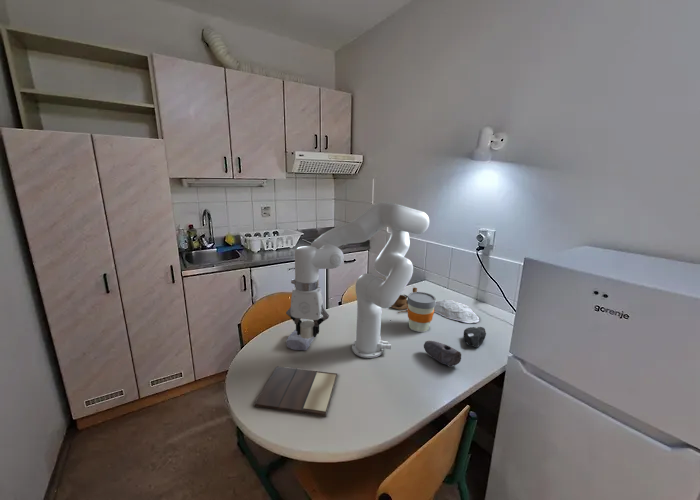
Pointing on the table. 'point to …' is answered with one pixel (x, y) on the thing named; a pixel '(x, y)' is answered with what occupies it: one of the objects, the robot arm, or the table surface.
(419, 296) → the reusable coffee cup
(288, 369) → the board
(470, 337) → the mineral
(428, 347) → the perforated stone tool
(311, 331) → the white short cylinder
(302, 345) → the block
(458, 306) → the white rough oval lump
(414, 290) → the place setting
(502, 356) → the table surface
